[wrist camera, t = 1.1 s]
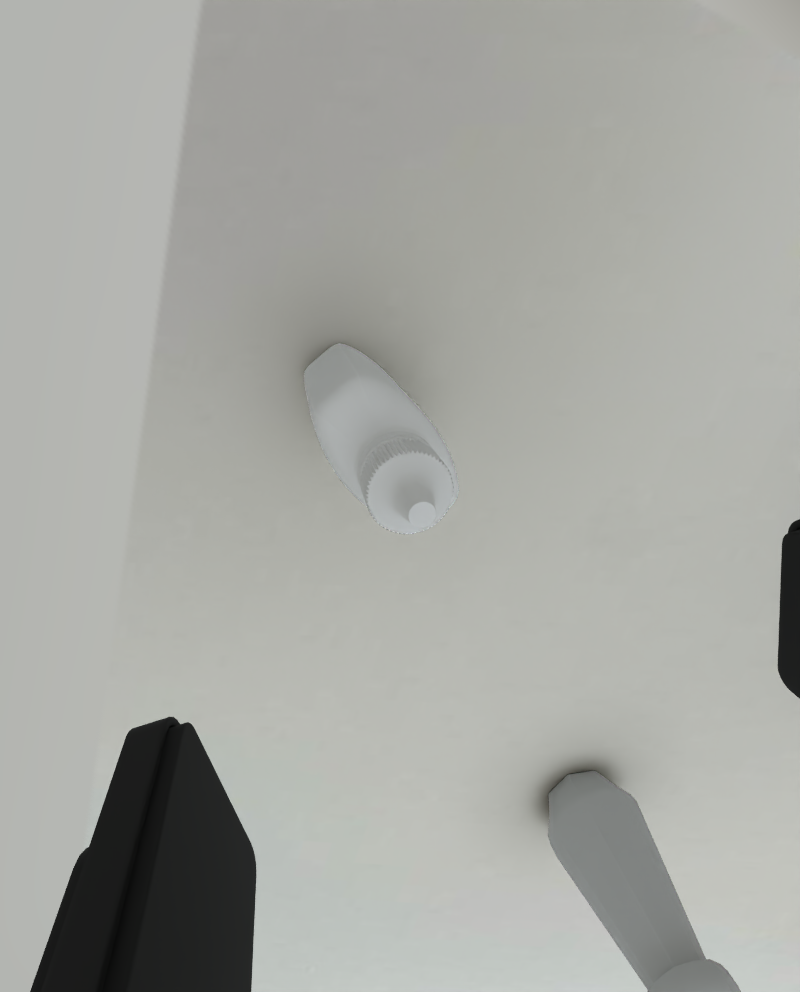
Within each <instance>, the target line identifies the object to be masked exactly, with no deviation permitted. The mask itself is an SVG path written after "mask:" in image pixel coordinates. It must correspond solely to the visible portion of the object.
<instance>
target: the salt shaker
mask: <svg viewBox="0 0 800 992" xmlns="http://www.w3.org/2000/svg"><path fill="white" fill-rule="evenodd" d="M548 797H549V828H548V837H549V841H550V844H551V846H552V848H553V850H554V852H555V854H556V856H557V858H558V859H559V861H560V862H561V864H562V865H563V867H564V868H565V870H566V871H567V873H568V874H569V875H570V877H571V878H572V880H573V881H574V883H575V884H576V886H577V887H578V889H579V890H580V892H581V893H582V894H583V896H584V897H585V899H586V900H587V902H588V903H589V905H590V906H591V908H592V909H593V911H594V912H595V913H596V915H597V916H598V918H599V919H600V921H601V922H602V924H603V925H604V927H605V928H606V930H607V931H608V932H609V934H610V935H611V937H612V938H613V940H614V941H615V943H616V944H617V946H618V947H619V949H620V950H621V951H622V953H623V954H624V956H625V957H626V959H627V960H628V962H629V963H630V965H631V966H632V968H633V969H634V970H635V972H636V973H637V975H638V976H639V978H640V979H641V981H642V982H643V984H644V985H645V987H646V988H647V990H648V992H741V991H740V989H739V987H738V985H737V984H736V982H735V981H734V979H733V978H732V977H731V975H730V974H729V972H728V971H727V970H726V969H725V968H724V967H723V966H722V965H721V964H719V963H717V962H715V961H712V960H710V959H708V960H706V958H705V956H704V954H703V951H702V949H701V947H700V944H699V942H698V940H697V938H696V935H695V933H694V931H693V929H692V926H691V924H690V922H689V919H688V917H687V915H686V913H685V910H684V908H683V906H682V904H681V901H680V899H679V897H678V894H677V892H676V890H675V888H674V885H673V883H672V881H671V879H670V876H669V874H668V872H667V869H666V867H665V865H664V863H663V860H662V858H661V856H660V854H659V851H658V849H657V847H656V845H655V842H654V840H653V838H652V835H651V833H650V831H649V829H648V826H647V824H646V822H645V820H644V817H643V815H642V813H641V810H640V808H639V806H638V803H637V801H636V800H635V799H634V798H633V797H632V796H631V794H629V793H627V792H625V791H624V790H622V789H620V788H619V787H617V786H616V785H614V784H613V783H612V782H610V781H609V780H607V779H606V778H605V777H603V776H602V775H600V774H599V773H598V772H596V771H588V772H581V773H574V774H568V775H567V776H566V777H565V778H564V779H563V780H562V781H561V782H560V783H559V784H558V785H557V786H556V787H555V788H554V789H553V790H552V791H551V792H550V793H549V794H548Z"/></svg>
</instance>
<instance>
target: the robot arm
mask: <svg viewBox="0 0 800 992" xmlns="http://www.w3.org/2000/svg"><path fill="white" fill-rule="evenodd" d="M778 671H779V674H780V677H781V679H782V681H783V682H784V684H785V685H786V686H787V688H788V689H789V690H790V691H791V692H792V693H794V694H795V695H796V696H797V697H799V698H800V520H797V521H795V522H793V523H792V524H791V526H790V527H789V530H788V534H786V535H785V536H784V538H783V542H782V562H781V590H780V618H779V646H778ZM255 891H256V861H255V855H254V851H253V847H252V845H251V842H250V840H249V838H248V836H247V834H246V832H245V830H244V828H243V826H242V824H241V822H240V820H239V818H238V816H237V814H236V812H235V810H234V808H233V806H232V804H231V802H230V800H229V798H228V796H227V794H226V792H225V790H224V788H223V786H222V784H221V782H220V780H219V778H218V776H217V773H216V771H215V769H214V767H213V765H212V763H211V761H210V759H209V757H208V755H207V753H206V751H205V749H204V747H203V745H202V743H201V741H200V739H199V737H198V735H197V733H196V731H195V729H194V727H193V726H192V725H191V724H190V723H184V724H181V725H180V724H179V722H178V720H176V719H175V718H174V717H168V718H165V719H162V720H158V721H155V722H152V723H149V724H146V725H142V726H139V727H136V728H133V729H131V730H130V731H129V732H128V734H127V736H126V739H125V742H124V745H123V748H122V751H121V754H120V757H119V759H118V762H117V765H116V768H115V771H114V774H113V777H112V780H111V783H110V786H109V789H108V792H107V795H106V798H105V801H104V804H103V807H102V810H101V813H100V816H99V819H98V822H97V825H96V828H95V831H94V834H93V837H92V840H91V843H90V846H89V847H88V848H86V849H85V850H84V851H83V853H82V854H81V855H80V856H79V858H78V860H77V862H76V864H75V866H74V868H73V871H72V874H71V877H70V880H69V882H68V886H67V888H66V891H65V894H64V897H63V899H62V902H61V905H60V908H59V911H58V914H57V917H56V919H55V923H54V925H53V928H52V931H51V934H50V937H49V940H48V942H47V945H46V948H45V951H44V954H43V957H42V960H41V962H40V965H39V968H38V971H37V975H36V977H35V979H34V983H33V985H32V988H31V991H30V992H251V982H252V959H253V936H254V914H255Z"/></svg>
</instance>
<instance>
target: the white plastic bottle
mask: <svg viewBox="0 0 800 992" xmlns="http://www.w3.org/2000/svg"><path fill="white" fill-rule="evenodd" d="M304 385H305V390H306V396H307V401H308V405H309V410H310V414H311V418H312V422H313V426H314V429H315V432H316V435H317V438H318V440H319V442H320V445H321V447H322V449H323V451H324V454H325V456H326V458H327V460H328V461H329V463H330V465H331V467H332V468H333V470H334V471H335V473H336V474H337V476H338V477H339V479H340V480H341V481H342V483H343V484H344V485H345V486H346V487H347V489H348V490H349V491H350V492H351V493H352V494H353V495H354V496H355V497H356V498H357V499H358V500H359V501H361V502H362V503H363V504H364V505H365V506H367V508H368V510H369V512H370V514H371V516H373V519H375V520H376V522H377V523H379V525H381V526H383V528H386V529H387V530H390V531H391V532H395V533H399V534H401V533H403V534H411V533H412V534H414V533H418V532H422V531H423V530H427V529H428V528H431V526H434V525H435V524H436V523H438V521H440V520H441V518H442V517H444V514H446V513H447V510H449V507H451V506H452V505H453V504H454V502H455V501H456V499H457V498H458V492H459V484H458V477H457V473H456V469H455V466H454V462H453V460H452V457H451V454H450V452H449V450H448V448H447V446H446V444H445V442H444V440H443V438H442V437H441V435H440V433H439V432H438V430H437V429H436V427H435V426H434V425H433V423H432V422H431V421H430V419H429V418H428V417H427V416H426V415H425V414H424V412H423V411H422V410H421V409H420V408H419V407H418V406H417V405H416V404H415V403H414V401H413V400H412V399H411V398H410V397H409V396H408V395H407V394H406V393H405V392H404V391H403V390H402V389H401V388H400V387H399V386H398V384H397V383H396V382H395V381H394V380H393V379H392V378H391V377H390V376H389V375H388V374H387V373H386V372H385V371H384V370H383V369H382V368H381V367H380V366H379V365H378V364H377V363H375V362H374V361H373V360H372V359H370V358H369V357H367V356H366V355H365V354H363V353H361V352H360V351H358V350H356V349H355V348H353V347H351V346H348V345H346V344H340V343H338V344H336V345H333V346H331V347H330V348H329V349H327V350H326V351H325V352H324V353H323V354H321V355H320V356H319V357H318V358H317V359H316V360H314V361H313V362H312V363H311V364H310V365H309V366H308V367H307V369H306V370H305V372H304Z"/></svg>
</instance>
